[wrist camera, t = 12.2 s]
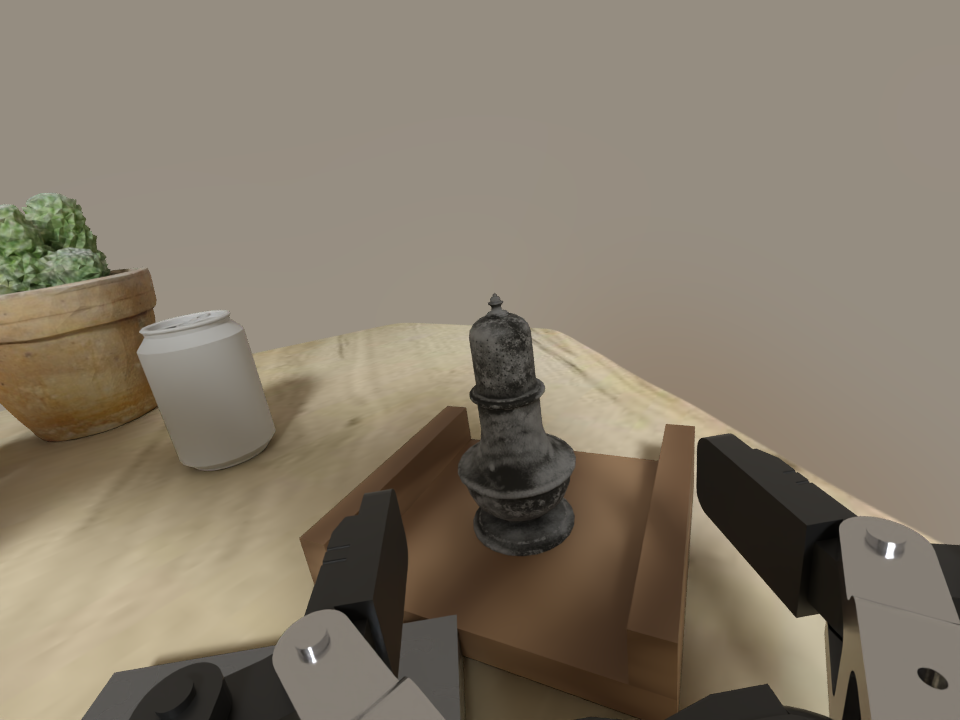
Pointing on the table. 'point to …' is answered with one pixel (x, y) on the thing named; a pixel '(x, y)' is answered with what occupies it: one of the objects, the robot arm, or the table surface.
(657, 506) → the brown piece
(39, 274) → the potted plant
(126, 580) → the table surface
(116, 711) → the socket frame
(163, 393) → the can
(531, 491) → the salt shaker
